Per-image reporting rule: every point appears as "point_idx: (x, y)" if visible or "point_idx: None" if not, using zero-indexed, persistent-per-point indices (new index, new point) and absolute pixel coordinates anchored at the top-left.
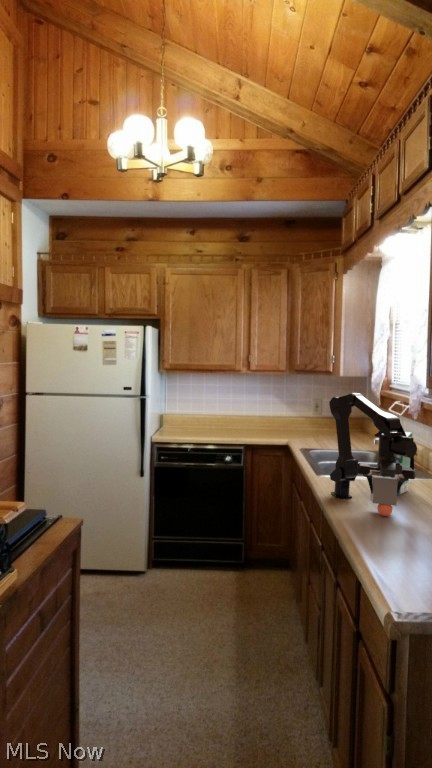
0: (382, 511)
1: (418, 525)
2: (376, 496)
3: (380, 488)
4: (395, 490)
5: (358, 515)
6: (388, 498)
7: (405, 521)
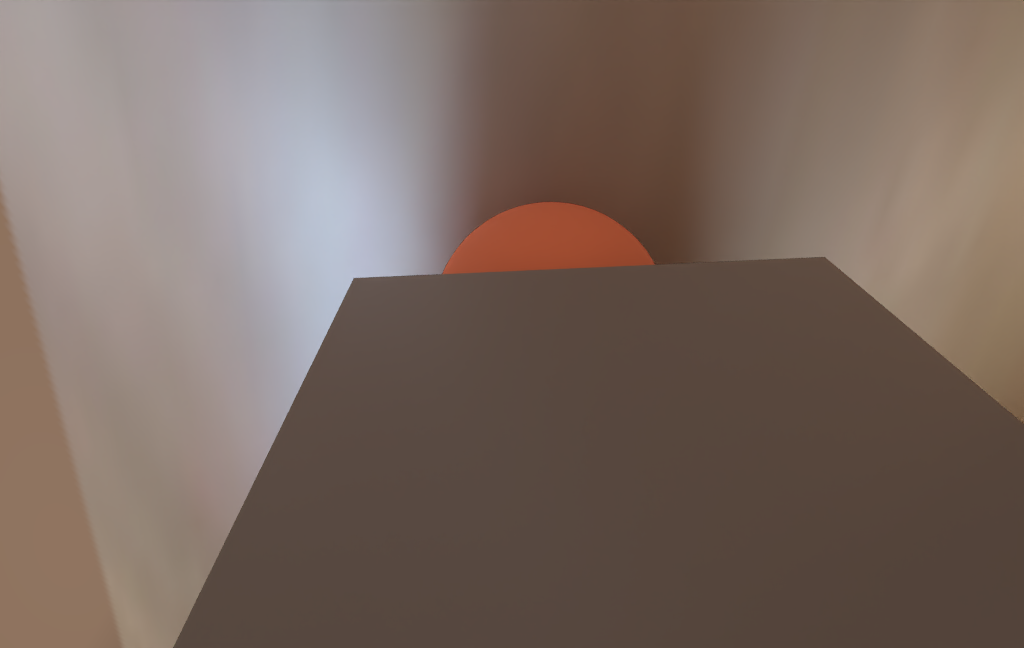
0: (597, 212)
1: (66, 53)
2: (843, 343)
3: (894, 575)
4: (268, 580)
5: (916, 145)
6: (522, 347)
7: (265, 162)
